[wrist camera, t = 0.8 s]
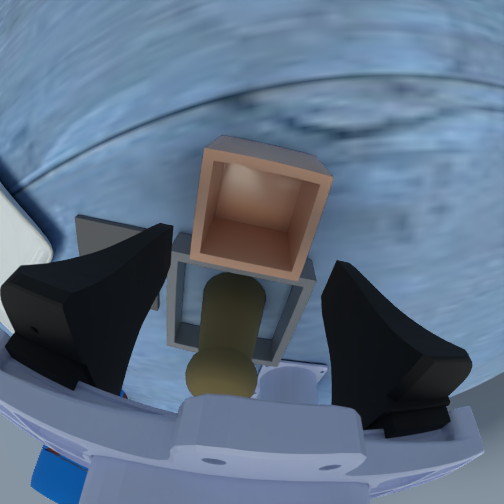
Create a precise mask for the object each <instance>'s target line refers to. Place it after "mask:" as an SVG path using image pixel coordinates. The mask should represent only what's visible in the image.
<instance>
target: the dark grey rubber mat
mask: <svg viewBox="0 0 504 504" xmlns="http://www.w3.org/2000/svg"><path fill="white" fill-rule="evenodd" d="M75 223H76V233H77V241H78V248H79V255H80V256H83V255H87V254H90V253H94V252H96V251H99V250H102V249H105V248H107V247H110V246H112V245H114V244H117V243H119V242H121V241H123V240H126V239H128V238H130V237H132V236H134V235H136V234H138V233H140V232H142V231H144V230H146V229H145V228H140V227H135V226H130V225H125V224H120V223H116V222H111V221H106V220H101V219H96V218H91V217H87V216H82V215H77V216H76V217H75ZM150 309H152V310H156V311H158V309H159V293H158V295H157V297H156V299H155V301H154V303H153V304H152V306H151V308H150Z"/></svg>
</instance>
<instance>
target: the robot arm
mask: <svg viewBox="0 0 504 504" xmlns="http://www.w3.org/2000/svg"><path fill="white" fill-rule="evenodd" d="M172 237H173V226H172V225H167V224H162V223H159V224H156V225H154V226H152V227H150V228H148V229H146V230H144V231H142V232H140V233H138V234H136V235H134V236H132V237H130V238H128V239H126V240H123V241H121V242H119V243H117V244H114V245H112V246H110V247H107V248H105V249H102V250H99V251H96V252H94V253H90V254H87V255H83V256H79V257H76V258H72V259H68V260H63V261H57V262H51V263H44V264H32V265H21V266H20V267H19V268H18V269H17V270H16V271H15V272H14V273H13V274H12V275H11V276H10V277H9V278H8V279H7V280H6V281H5V282H4V283H3V284H2V285H1V288H0V297H1V302H2V305H3V307H4V310H5V312H6V314H7V316H8V318H9V321H10V323H11V325H12V327H13V329H14V331H15V332H14V334H13V335H12V337H11V338H10V336H9V335H8V334H7V333H6V332H5V331H4V330H2V329H0V414H1V415H3V416H4V417H5V418H6V419H8V420H9V421H11V422H12V423H13V424H15V425H16V426H17V427H19V428H20V429H22V430H23V431H25V432H26V433H27V434H29V435H30V436H32V437H33V438H35V439H36V440H38V441H40V442H41V443H43V444H44V445H46V446H48V447H49V448H51V449H53V450H54V451H56V452H58V453H60V454H61V455H63V456H65V457H67V458H69V459H71V460H72V461H74V462H76V463H78V464H80V465H82V466H84V467H86V468H88V469H89V470H88V473H87V476H86V480H85V483H84V487H83V490H82V494H81V497H80V501H79V504H370V499H372V498H377V497H381V496H384V495H388V494H392V493H395V492H399V491H402V490H405V489H409V488H412V487H415V486H418V485H421V484H423V483H426V482H429V481H432V480H435V479H437V478H440V477H443V476H445V475H447V474H449V473H451V472H453V471H454V470H456V469H458V468H460V467H462V466H463V465H465V464H467V463H468V462H470V461H472V460H473V459H475V458H477V457H478V456H480V455H481V454H483V453H484V447H483V443H482V440H481V437H480V434H479V430H478V428H477V425H476V422H475V419H474V416H473V413H472V410H471V408H470V406H466V407H461V408H456V409H453V410H451V411H449V412H448V411H447V408H446V406H448V405H449V404H450V400H449V397H448V396H449V395H450V394H451V393H452V392H453V391H454V390H455V389H456V388H457V387H458V386H459V385H460V384H461V383H462V382H463V381H464V380H465V379H466V378H467V376H468V375H469V373H470V371H471V369H472V361H471V359H470V357H469V355H468V353H467V352H466V350H465V349H463V348H460V347H458V346H456V345H454V344H452V343H450V342H447V341H445V340H444V339H442V338H440V337H438V336H436V335H435V334H433V333H431V332H430V331H428V330H426V329H425V328H423V327H422V326H420V325H419V324H417V323H416V322H414V321H413V320H412V319H410V318H409V317H408V316H406V315H405V314H404V313H403V312H401V311H400V310H399V309H398V308H397V307H395V306H394V305H393V304H392V303H391V302H390V301H389V300H388V299H387V298H386V297H384V296H383V295H382V294H381V293H380V292H379V291H378V290H377V289H376V288H375V287H374V286H373V285H372V284H371V283H370V282H369V281H368V280H367V279H366V278H365V277H364V276H363V275H362V274H361V273H360V272H359V271H358V270H357V269H356V268H355V267H354V266H353V265H351V264H350V263H348V262H343V261H339V260H337V261H336V263H335V266H334V268H333V270H332V273H331V275H330V277H329V279H328V282H327V284H326V286H325V289H324V291H323V293H322V295H321V301H322V316H323V321H324V327H325V332H326V337H327V342H328V347H329V353H330V360H331V374H332V405H319V400H318V391H317V384H318V382H319V381H320V380H321V378H322V377H323V375H324V374H325V373H326V371H327V370H328V367H327V366H326V365H318V364H309V363H300V362H292V361H284V360H281V361H280V363H279V365H278V367H273V366H266V365H262V367H261V369H260V372H259V374H258V383H257V386H256V389H255V392H254V394H253V396H252V397H251V398H247V397H240V396H234V395H221V394H203V395H199V396H194V397H190V398H188V399H185V401H184V402H183V403H182V405H181V406H180V407H179V411H178V414H177V413H173V412H169V411H166V410H162V409H158V408H154V407H151V406H148V405H144V404H141V403H138V402H134V401H131V400H128V399H125V398H122V397H120V394H121V389H122V385H123V381H124V378H125V374H126V370H127V367H128V363H129V360H130V357H131V354H132V351H133V348H134V345H135V342H136V339H137V336H138V334H139V331H140V328H141V326H142V324H143V322H144V320H145V318H146V316H147V314H148V312H149V310H150V308H151V306H152V304H153V303H154V301H155V299H156V297H157V295H158V293H159V292H160V290H161V288H162V286H163V284H164V282H165V279H166V277H167V274H168V271H169V269H170V266H171V253H172ZM254 398H257V399H254Z"/></svg>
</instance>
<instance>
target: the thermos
mask: <svg viewBox="0 0 504 504" xmlns="http://www.w3.org/2000/svg"><path fill="white" fill-rule="evenodd" d="M120 397H122V398H125V399H127V396H126V394H125V393H124V392H123V391H122V390H121V394H120ZM42 448H43V449H42V450H41V453H40V455H39V458H38V461H37V464H36V466H35V469H34V472H33V475H32V480H31V487H32V488H34V489H35V490H37V491H38V492H40V493H41V494H43V495H44V496H46V497H47V498H49V499H51V500H53V501H54V502H56V503H58V504H79V501H80V497H81V494H82V490H83V487H84V483H85V480H86V476H87V473H88V470H89V469H88V468H86V467H84V466H82V465H80V464H78V463H76V462H74V461H72V460H71V459H69V458H67V457H65V456H63V455H61V454H60V453H58V452H56V451H54V450H53V449H51V448H49V447H48V446H46V445H43V447H42Z"/></svg>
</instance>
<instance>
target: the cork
mask: <svg viewBox="0 0 504 504" xmlns="http://www.w3.org/2000/svg"><path fill="white" fill-rule="evenodd" d="M265 301H266V296H265V291H264V289H263V288H262V286H261V285H260V283H259V282H257V281H256V280H255V279H254V278H252V277H250V276H245V275H240V274H235V273H231V272H227V273H221V274H219V275H216V276H214V277H213V278H211V279H210V280H209V281H208V282H207V284H206V286H205V288H204V292H203V302H202V312H201V323H200V335H199V347H198V352H197V353H196V354H195V355H193V357H192V359H191V360H190V362H189V364H188V366H187V369H186V385H187V387H188V389H189V391H190V392H191V394H192V395H193V396H199V395H203V394H221V395H234V396H240V397H247V398H251V397H252V396H253V394H254V392H255V389H256V386H257V383H258V375H257V372H256V368H255V365H254V363H253V362H252V357H253V352H254V348H255V344H256V340H257V336H258V331H259V327H260V323H261V318H262V314H263V310H264V305H265Z"/></svg>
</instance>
